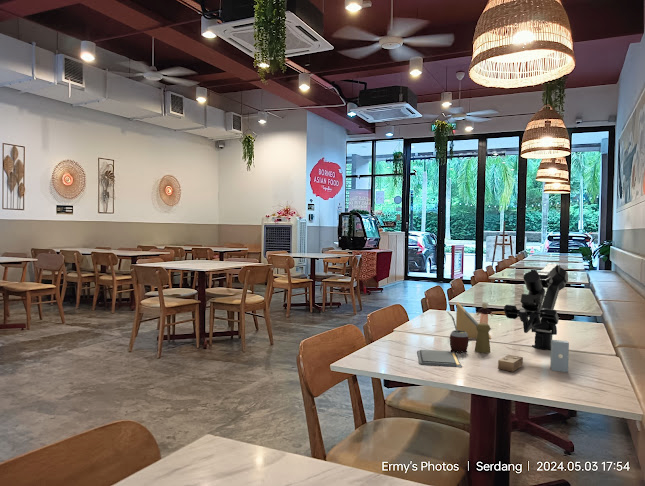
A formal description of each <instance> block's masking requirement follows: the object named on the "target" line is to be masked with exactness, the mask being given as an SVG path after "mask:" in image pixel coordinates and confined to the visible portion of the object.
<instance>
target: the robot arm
mask: <svg viewBox="0 0 645 486" xmlns="http://www.w3.org/2000/svg"><path fill="white" fill-rule="evenodd" d="M523 281H524V284H525V288H526V289H527V291H528V293H527V294H526V293H521V296H520V303H521V307H520V308H519V309H518V308H517V305H516V304H505V305H504V307H503V313H504V315H505V317H506V318H507V319H511V320H516V319H518V318H519V320H520V321H521V322H522V327H523V332H524V334H527V333H528V332H530V331H531V333H534V334H535V335H534V344H532V345H531V347H533V348H537V349H540V350H544V351H547V350H551V340H553V336H554V335H555V336H557V334H558V329H557V325H558V323H559V315H558V311H557V310H556V309H555V305H556V303H557V299H558V297H559V293H560V291H561V290H563V289H564V288H566V286H567V285H566V284H567V283H568V282H569V274H568V272H567V270H565V269H564V268H562V267H561V266H560V264H558V263H546V264H545V267H544V268H542V269H541V270H540V271H538V270H537V269H530V271H528V272H526V273H525V274H524V275H523Z"/></svg>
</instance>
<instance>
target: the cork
mask: <svg viewBox="0 0 645 486" xmlns="http://www.w3.org/2000/svg"><path fill="white" fill-rule="evenodd" d="M476 329H477V331H478V333H477V338H475V339H476V341H475V346H474V352H477V353H480V354H489V353H491V343H490V339H489V335H490V331H491V326H490V325H489V323H488V324H486V323H480V322H478V324H477V326H476Z"/></svg>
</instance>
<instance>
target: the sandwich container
mask: <svg viewBox="0 0 645 486" xmlns="http://www.w3.org/2000/svg"><path fill="white" fill-rule="evenodd" d="M455 324H456V328H457V330H460V331H465V332H466V333H467V335H468V339H469V338H472V339H477V333H478V331H477V329H476V326H477V324H479V322H478V321H476V319H475V318H474V317H473V316H472V315H471V314H470V313H469V312H468V311H467V310H466V309H465V308H464V307H463V306H462V304H460V303H459V302H458V301H457V302H456V320H455ZM491 339H492V336H491V334H489V340H491Z"/></svg>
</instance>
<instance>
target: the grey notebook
mask: <svg viewBox="0 0 645 486" xmlns="http://www.w3.org/2000/svg"><path fill="white" fill-rule="evenodd" d="M416 354H417V358H418V359H417V360H418V365H420V366H428V367H429V366H430V367H447V368H461V369H462V368H463V365H462V364H461V362H460V360H459V358H458V356H457V354H456V352H451V350H450V351H448V350H436V349H435V350H433V349H419V350H417V351H416Z"/></svg>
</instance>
